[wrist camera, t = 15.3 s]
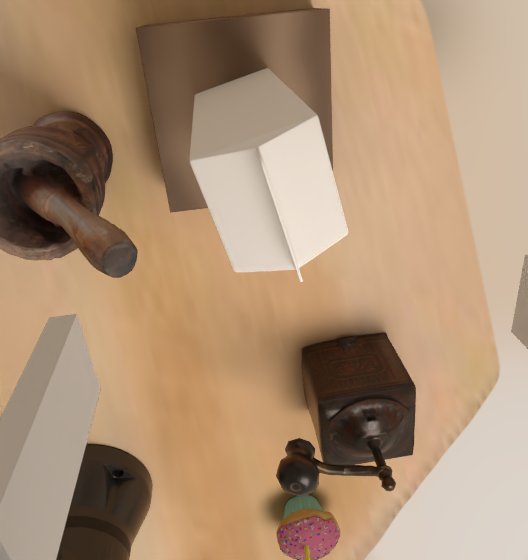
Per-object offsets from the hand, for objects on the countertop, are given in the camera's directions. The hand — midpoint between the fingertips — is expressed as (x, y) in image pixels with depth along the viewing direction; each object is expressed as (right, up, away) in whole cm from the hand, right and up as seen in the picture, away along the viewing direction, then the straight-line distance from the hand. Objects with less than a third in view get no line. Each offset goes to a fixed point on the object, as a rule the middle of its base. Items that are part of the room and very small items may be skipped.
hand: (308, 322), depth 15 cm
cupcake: (+4, -31, +57) cm, 65 cm away
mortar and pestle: (-17, +13, +31) cm, 37 cm away
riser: (-4, +17, +30) cm, 35 cm away
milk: (-3, +14, +25) cm, 29 cm away
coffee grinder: (+6, -10, +46) cm, 48 cm away
